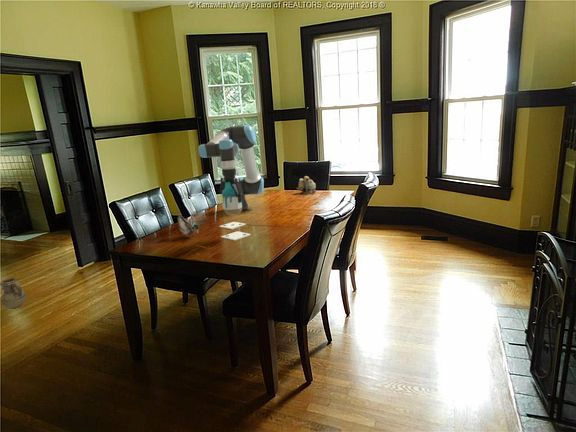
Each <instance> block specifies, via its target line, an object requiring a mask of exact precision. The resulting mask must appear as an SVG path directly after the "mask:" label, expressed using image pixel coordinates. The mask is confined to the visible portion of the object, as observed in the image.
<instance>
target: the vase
mask: <svg viewBox="0 0 576 432" xmlns="http://www.w3.org/2000/svg"><path fill="white" fill-rule="evenodd" d="M234 184H235V183H234ZM238 195H239V194H238ZM236 197H237V195H236V193H235V191H234V189H233V187H231V184H230V182H225V189H224V190H223V191H222V194H221V199H222V206H223V210H224V213H225V214H226V215H227V216H237V215H239V214H241V213H242V211H243V210H242V208H240V209H237V201H236ZM241 200H242V199H241ZM241 204H242V202H241Z"/></svg>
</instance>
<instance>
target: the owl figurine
mask: <svg viewBox="0 0 576 432" xmlns="http://www.w3.org/2000/svg"><path fill="white" fill-rule="evenodd" d="M316 187H317V186H316V183H315V182H314V181H313V179H311V178H310V177H309V176H307V175H305V176H304V177H303V178H299V180H298V186H297V187H296V190H297V191H300V192H299V194H300V193H303V194H310V195H314V194H315V193H316V192H317V190H316ZM313 193H314V194H313ZM303 194H302V195H303Z"/></svg>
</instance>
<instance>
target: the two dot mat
mask: <svg viewBox="0 0 576 432" xmlns="http://www.w3.org/2000/svg"><path fill="white" fill-rule="evenodd" d="M249 236H251V233H248V232H242V231H234V232H231V233H228V234H225V235H222V236H220V237H221V239H226V240H230V241H235V242H236V241H238V240H241V239H243V238H246V237H249Z"/></svg>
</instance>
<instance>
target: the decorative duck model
mask: <svg viewBox="0 0 576 432" xmlns="http://www.w3.org/2000/svg"><path fill="white" fill-rule="evenodd" d="M177 224H178V225H177V226H178V229H179V230H178V235H179V236H182V235H187V236H192V235H194V233H195V231H196V233H197V234H199V225H198V224H192V223H191V222H190V221H188V220H187V219H186V218H184V216H182V215H180V214H178V216H177Z"/></svg>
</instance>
